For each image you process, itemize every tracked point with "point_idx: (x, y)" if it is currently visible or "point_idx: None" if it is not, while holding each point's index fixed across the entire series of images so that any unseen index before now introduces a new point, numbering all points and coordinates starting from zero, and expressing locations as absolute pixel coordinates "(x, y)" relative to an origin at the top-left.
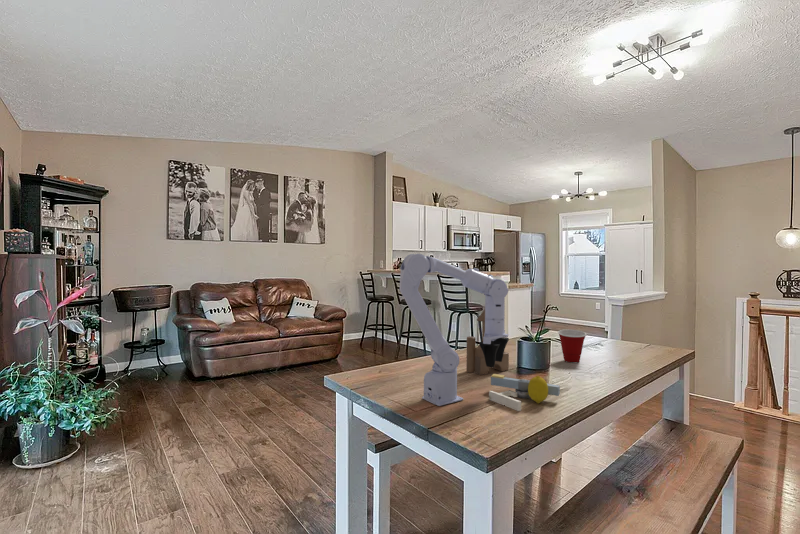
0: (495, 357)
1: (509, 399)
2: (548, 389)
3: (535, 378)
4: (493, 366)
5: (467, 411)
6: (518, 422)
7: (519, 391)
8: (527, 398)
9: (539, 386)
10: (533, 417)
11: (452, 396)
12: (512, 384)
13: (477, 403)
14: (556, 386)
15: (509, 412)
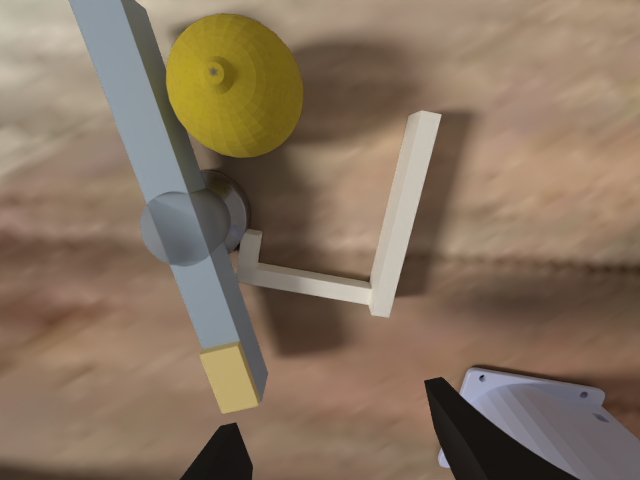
0: (466, 430)
1: (422, 181)
2: (153, 63)
3: (249, 86)
4: (443, 379)
5: (574, 282)
6: (561, 43)
7: (237, 225)
8: (231, 180)
9: (281, 45)
10: (454, 21)
11: (538, 397)
12: (227, 278)
13: (459, 306)
14: (106, 7)
15: (468, 144)
